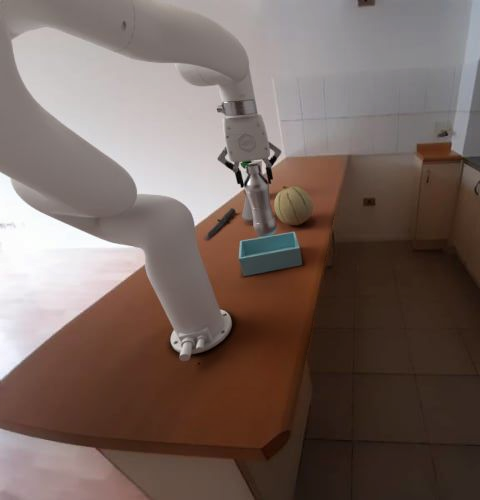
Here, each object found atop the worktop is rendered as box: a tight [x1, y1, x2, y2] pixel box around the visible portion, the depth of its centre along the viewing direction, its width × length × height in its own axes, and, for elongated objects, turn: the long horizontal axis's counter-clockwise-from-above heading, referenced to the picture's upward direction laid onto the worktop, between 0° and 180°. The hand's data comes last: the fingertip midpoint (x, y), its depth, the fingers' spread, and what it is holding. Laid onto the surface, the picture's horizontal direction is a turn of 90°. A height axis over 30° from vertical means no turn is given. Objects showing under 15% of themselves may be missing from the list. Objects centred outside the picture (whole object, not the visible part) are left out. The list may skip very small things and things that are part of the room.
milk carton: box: [239, 159, 264, 182], centre depth 134 cm, size 9×9×20 cm
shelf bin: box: [238, 231, 303, 277], centre depth 85 cm, size 11×17×6 cm, turn 104°
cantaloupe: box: [273, 185, 314, 226], centre depth 106 cm, size 15×15×15 cm
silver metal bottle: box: [243, 163, 278, 237], centre depth 77 cm, size 6×7×20 cm
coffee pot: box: [241, 174, 267, 225], centre depth 115 cm, size 21×12×15 cm, turn 174°
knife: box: [206, 207, 236, 240], centre depth 112 cm, size 24×5×3 cm, turn 168°
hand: (256, 183), depth 74 cm, fingers closed on silver metal bottle, 6 cm apart
